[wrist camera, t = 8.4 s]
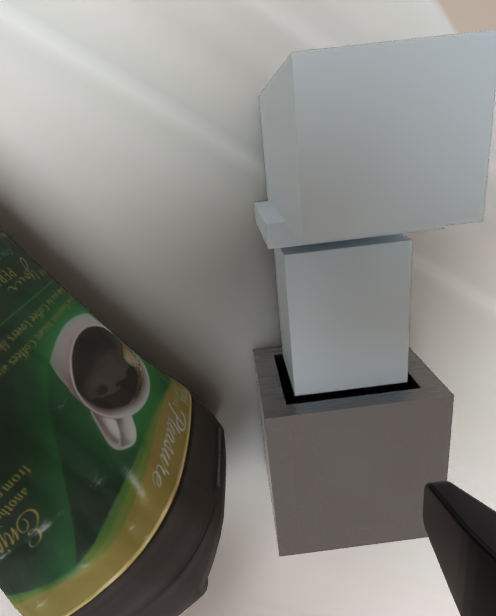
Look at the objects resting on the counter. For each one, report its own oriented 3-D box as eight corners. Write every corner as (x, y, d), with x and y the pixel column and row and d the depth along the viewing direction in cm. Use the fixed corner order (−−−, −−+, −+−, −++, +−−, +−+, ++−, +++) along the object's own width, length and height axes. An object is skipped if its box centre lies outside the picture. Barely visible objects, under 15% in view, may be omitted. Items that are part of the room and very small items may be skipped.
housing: (392, 447, 23) (442, 535, 18) (266, 463, 23) (279, 556, 18) (395, 332, 21) (454, 395, 16) (253, 349, 21) (264, 419, 15)
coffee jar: (-590, 366, 9) (90, 714, 15) (-443, 88, 7) (264, 602, 13) (-181, 254, 18) (143, 495, 24) (-72, 118, 16) (249, 412, 22)
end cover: (383, 334, 20) (480, 447, 13) (268, 348, 20) (296, 471, 13) (386, 81, 16) (529, 25, 9) (243, 97, 16) (263, 55, 9)
